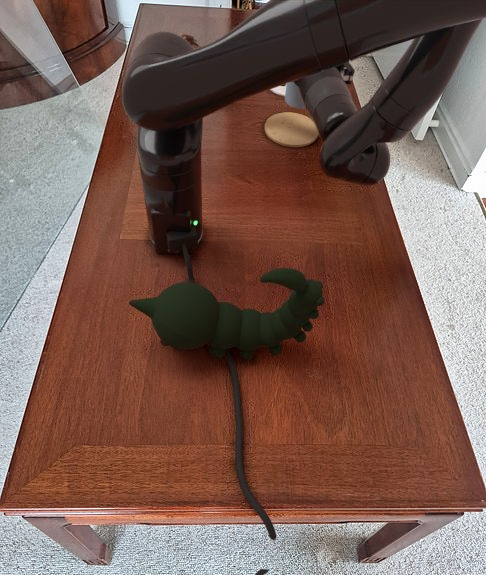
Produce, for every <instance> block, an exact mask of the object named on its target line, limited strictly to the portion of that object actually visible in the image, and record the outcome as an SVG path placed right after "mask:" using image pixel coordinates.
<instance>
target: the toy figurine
mask: <svg viewBox="0 0 486 575" xmlns="http://www.w3.org/2000/svg"><path fill="white" fill-rule="evenodd" d="M259 282H260V283H262V284H267V283H271V284H276V285H279V286H282V287H285V288H286V289H288V290H290V291H292V292H291V293H290V294H289V296H288V299H287V300H286V301H284V302H283V303H282V304H281V306H280V307H278V308H276V309H275V310H274V311H273V312H272V311H265V312H261V311H259V310H257V309H254V308H249V307H248V308H241V309H240V308H239V307H238V306H237V305H235V304H233V303H232V302H227V301H218V299H217V298H216V296H215V295H214V293H213V292H212V291H211V290H210V289H209V288H207V287H206V286H204V285H203V284H199V283H196V282H195V283H192V282H189V281H182V282H177V283H174V284H171V285H169V286H167V287H166V288H164V289H163V290H162V291H161V292H159V294H158V295H157V296H155V297H147V298H146V297H145V298H138V299H131V300H129V302H128V304H129V305H130V306H131V307H132V308H134V309H135V310H138V311H139V312H141V313H142V314H144V315H146V316H147V317H149V318H150V320H151V324H152V326H153V329H154V331H155V333H156V335H157V336H158V338H159V339H160V343H161V345H162V346H163V347H171V348H173V349H177V350H183V351H188V350H189V351H190V350H196V349H198V348H201V347H203V346H205V345H207V346H208V353H209V355H210V357H212V358H214V359H220V358H223V357H225V355H224V354H225V353H226V349H231V348H233V347H234V348H236V349H237V350H239V356H240V357H241V359H243V360H245V361H248V360H251V359H252V358H253V356H254V355H255V350H258V349H260V348H261V347H263V348H268V351H269V354H270V355H271V356H275V357H276V356H279V355H281V354H282V352H283V346H282V342H283V341H288V340H291V339H294V340H295V341H296V342H297V344H298V343H304V342H305V341H306V339H307V334H306V333H308V332H311V331H312V330H313V328H314V326H313V323H312V322H311V320H316V319H318V317H320V315H319V314H320V313H319V309H318V307H322V306H323V305H325V302H326V301H325V298H324V297H323V296H324V294H323V292H324V290H323V289H324V284H323V282H322V281H321V280H315V279H311V278H309V279H307V277H306V276H305V274H304V272H301V271H300V270H298V269H295V268H290V267H278V268H274V269H271V270H269V271H267V272H265V273H264V274H262V275H261V276H260V278H259Z"/></svg>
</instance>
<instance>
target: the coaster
mask: <svg viewBox="0 0 486 575" xmlns="http://www.w3.org/2000/svg"><path fill="white" fill-rule="evenodd" d="M264 132H265V134H266V136H267V137H268V139H270V140H271V141H272V142H273V143H276V144H278V145H281V146H284V147H288V148H302V147H307V146H309V145H311V144H313V143H314V142H315V141H316V140H317V139H318V138H319V134H318V132H317V129H316V127H315V124H314V123H313V121H312V120H311V118H310V117H309V116H306V115H304V114H301V113H298V112H291V111H290V112H289V111H286V112H284V111H283V112H278V113H275V114H272V115H271V116H269V117H268V118H267V120H266V121H265V123H264Z"/></svg>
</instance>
